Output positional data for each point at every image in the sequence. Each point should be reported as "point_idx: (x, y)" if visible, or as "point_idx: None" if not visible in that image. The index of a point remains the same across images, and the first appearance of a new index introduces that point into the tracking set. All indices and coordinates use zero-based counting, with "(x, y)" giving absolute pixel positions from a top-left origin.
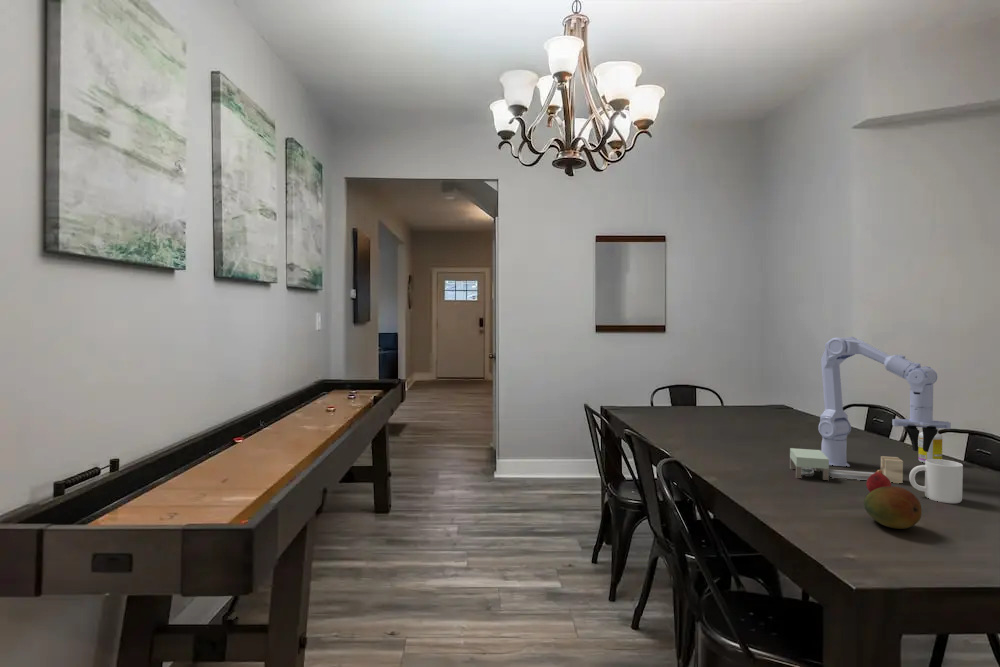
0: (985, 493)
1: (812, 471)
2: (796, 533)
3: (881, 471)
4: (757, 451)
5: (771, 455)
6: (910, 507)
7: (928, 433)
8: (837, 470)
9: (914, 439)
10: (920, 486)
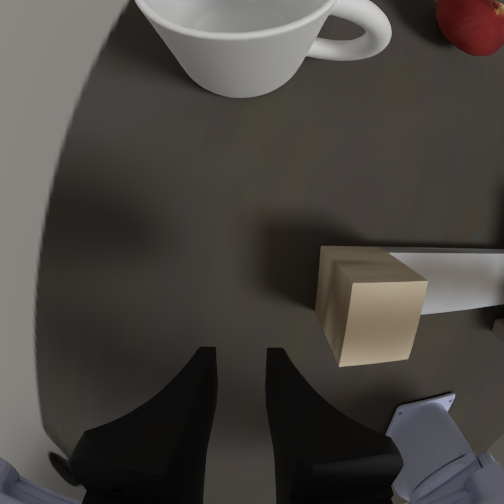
0: (61, 196)
1: None
2: None
3: (495, 1)
4: (498, 432)
5: (496, 417)
6: None
7: (179, 441)
8: (489, 299)
9: (314, 396)
10: (330, 40)
